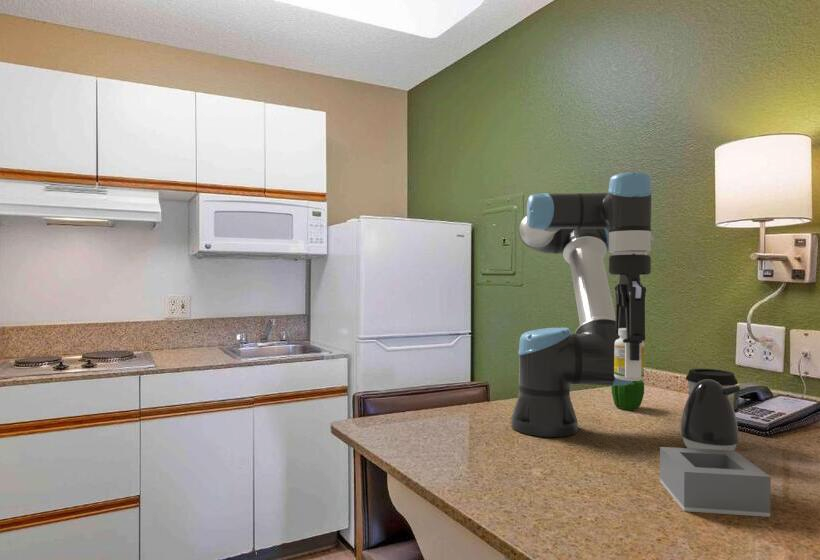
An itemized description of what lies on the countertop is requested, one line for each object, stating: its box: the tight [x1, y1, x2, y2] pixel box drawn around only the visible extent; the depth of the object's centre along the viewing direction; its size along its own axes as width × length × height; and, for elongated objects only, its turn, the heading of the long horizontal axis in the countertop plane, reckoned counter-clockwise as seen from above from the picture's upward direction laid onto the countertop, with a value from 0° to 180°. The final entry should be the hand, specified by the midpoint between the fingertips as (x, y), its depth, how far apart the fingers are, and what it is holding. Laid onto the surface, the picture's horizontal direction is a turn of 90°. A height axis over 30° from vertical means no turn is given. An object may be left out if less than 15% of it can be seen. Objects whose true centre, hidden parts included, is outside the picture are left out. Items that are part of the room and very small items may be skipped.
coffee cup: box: [685, 368, 739, 407], centre depth 116 cm, size 10×10×15 cm
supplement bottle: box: [614, 328, 645, 381], centre depth 103 cm, size 5×5×10 cm
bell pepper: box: [611, 380, 645, 411], centre depth 144 cm, size 8×8×10 cm
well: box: [659, 446, 772, 518], centre depth 86 cm, size 12×12×6 cm
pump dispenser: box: [679, 379, 741, 451], centre depth 106 cm, size 10×10×15 cm
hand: (629, 374), depth 103 cm, fingers closed on supplement bottle, 5 cm apart
